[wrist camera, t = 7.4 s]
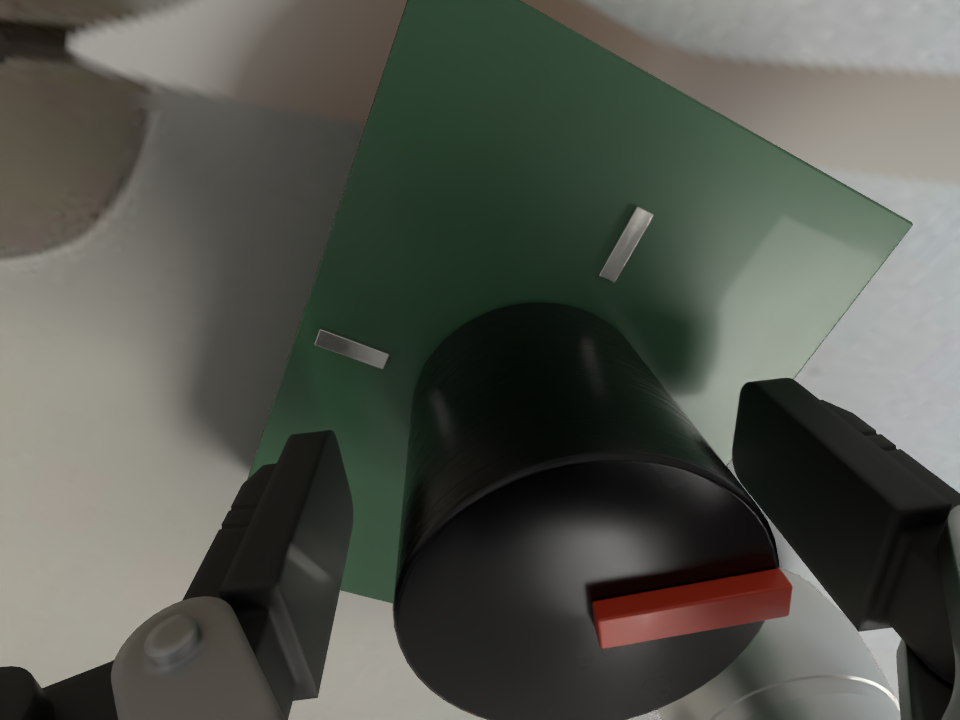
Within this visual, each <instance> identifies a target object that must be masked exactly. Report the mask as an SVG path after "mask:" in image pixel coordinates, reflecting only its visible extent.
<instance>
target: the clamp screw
mask: <svg viewBox="0 0 960 720" xmlns="http://www.w3.org/2000/svg"><path fill="white" fill-rule="evenodd" d="M792 588H793V587H792V584H791V583H790V582H789V580H788V579H787V577H786V576H785V575H784V573H783V572H782V571H781V569H779V560H778V554H777V548H776V543H775V539H774V536H773V533H772V531H771V528H770V526H769V523H768V521H767V520H766V518H765V517H764V515H763V514H762V512H761V510H760V509H759V507H758V506H757V505H756V503H755V502H754V501H753V500H752V498H751V497H750V496H749V494H748V493H747V492H746V491H745V489H744V488H743V487H742V486H741V484H740V483H739V482H738V480H737V479H736V478H735V477H734V475H733V474H732V473H731V472H730V470H729V469H728V468H727V466H726V465H725V464H724V463H723V461H722V460H721V459H720V458H719V456H718V455H717V454H716V452H715V451H714V450H713V449H712V447H711V446H710V445H709V444H708V442H707V441H706V440H705V438H704V437H703V436H702V435H701V433H700V432H699V431H698V430H697V428H696V427H695V426H694V424H693V423H692V422H691V421H690V419H689V418H688V417H687V416H686V414H685V413H684V412H683V410H682V409H681V408H680V407H679V405H678V404H677V403H676V402H675V400H674V399H673V398H672V396H671V395H670V394H669V393H668V391H667V390H666V389H665V388H664V386H663V385H662V384H661V382H660V381H659V380H658V379H657V377H656V376H655V375H654V374H653V372H652V371H651V370H650V368H649V367H648V366H647V365H646V363H645V362H644V361H643V360H642V358H641V357H640V356H639V354H638V353H637V352H636V351H635V349H634V348H633V347H632V346H631V344H630V343H629V342H628V341H627V340H626V339H625V337H624V336H623V335H622V334H621V333H620V332H619V331H618V330H616V329H615V328H614V327H613V326H611V325H610V324H609V323H608V322H606V321H604V320H603V319H601V318H599V317H598V316H596V315H594V314H592V313H589V312H587V311H584V310H582V309H579V308H575V307H572V306H568V305H564V304H556V303H548V302H530V303H522V304H514V305H510V306H506V307H502V308H498V309H495V310H493V311H490V312H487V313H485V314H482V315H480V316H478V317H476V318H474V319H473V320H471V321H469V322H467V323H465V324H464V325H463V326H461V327H460V328H458V329H457V330H455V331H454V332H453V333H452V334H450V335H449V336H448V337H447V338H446V339H445V340H444V341H443V342H442V343H441V344H440V345H439V346H438V347H437V349H436V350H435V351H434V352H433V353H432V355H431V356H430V358H429V359H428V361H427V362H426V364H425V366H424V367H423V369H422V371H421V373H420V376H419V378H418V380H417V383H416V387H415V390H414V394H413V400H412V409H411V419H410V430H409V441H408V451H407V462H406V473H405V483H404V494H403V505H402V515H401V526H400V537H399V547H398V558H397V569H396V579H395V590H394V600H393V619H394V628H395V632H396V636H397V639H398V643H399V646H400V648H401V650H402V652H403V654H404V656H405V658H406V661H407V663H408V664H409V666H410V667H411V668H412V670H413V671H414V673H415V674H416V675H417V677H418V678H419V679H420V680H421V681H422V682H423V683H424V684H425V685H426V686H427V687H428V688H429V689H430V690H432V691H433V692H434V693H435V694H437V695H438V696H439V697H441V698H442V699H443V700H445V701H447V702H448V703H450V704H452V705H454V706H456V707H457V708H459V709H461V710H463V711H466V712H468V713H470V714H473V715H475V716H478V717H481V718H484V719H487V720H627V719H630V718H633V717H637V716H640V715H643V714H646V713H649V712H651V711H654V710H657V709H659V708H662V707H664V706H667V705H669V704H671V703H673V702H675V701H677V700H679V699H681V698H683V697H685V696H687V695H689V694H690V693H692V692H694V691H695V690H697V689H699V688H701V687H702V686H704V685H705V684H706V683H708V682H709V681H711V680H712V679H713V678H715V677H716V676H718V675H719V674H720V673H721V672H723V671H724V670H725V669H726V668H727V667H728V666H730V665H731V664H732V663H733V662H734V661H735V660H736V659H737V658H738V657H739V656H740V655H741V654H742V653H743V652H744V651H745V649H746V648H747V647H748V646H749V645H750V643H751V642H752V641H753V639H754V638H755V637H756V635H757V634H758V633H759V631H760V630H761V628H762V626H763V624H764V622H765V620H769V619H775V618H780V617H786V616H788V615H789V612H790V604H791V596H792Z"/></svg>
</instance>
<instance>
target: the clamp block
mask: <svg viewBox="0 0 960 720" xmlns="http://www.w3.org/2000/svg"><path fill="white" fill-rule="evenodd" d="M912 225H913V224H912V222H910V221H909V220H907V219H905V218H903V217H901V216H900V215H898V214H896V213H894V212H893V211H891V210H889V209H887V208H886V207H884V206H882V205H880V204H879V203H877V202H875V201H873V200H871V199H870V198H868V197H866V196H864V195H863V194H861V193H859V192H857V191H856V190H854V189H852V188H850V187H849V186H847V185H845V184H843V183H841V182H840V181H838V180H836V179H834V178H833V177H831V176H829V175H827V174H826V173H824V172H822V171H820V170H819V169H817V168H815V167H813V166H811V165H810V164H808V163H806V162H804V161H803V160H801V159H799V158H797V157H796V156H794V155H792V154H790V153H789V152H787V151H785V150H783V149H781V148H780V147H778V146H776V145H774V144H772V143H771V142H769V141H767V140H765V139H764V138H762V137H760V136H758V135H757V134H755V133H753V132H751V131H750V130H748V129H746V128H744V127H743V126H741V125H739V124H737V123H735V122H734V121H732V120H730V119H728V118H727V117H725V116H723V115H721V114H720V113H718V112H716V111H714V110H713V109H711V108H709V107H707V106H706V105H704V104H702V103H700V102H699V101H697V100H695V99H693V98H691V97H689V96H688V95H686V94H684V93H682V92H681V91H679V90H677V89H676V88H673V87H672V86H670V85H669V84H667V83H665V82H663V81H661V80H660V79H658V78H656V77H654V76H653V75H651V74H649V73H647V72H645V71H644V70H642V69H640V68H638V67H637V66H635V65H633V64H631V63H630V62H628V61H626V60H624V59H623V58H621V57H619V56H617V55H616V54H614V53H612V52H610V51H609V50H607V49H605V48H603V47H601V46H600V45H598V44H596V43H594V42H592V41H591V40H589V39H587V38H585V37H584V36H582V35H580V34H579V33H577V32H575V31H573V30H571V29H569V28H568V27H566V26H564V25H563V24H561V23H559V22H557V21H555V20H554V19H552V18H550V17H548V16H547V15H545V14H543V13H541V12H540V11H538V10H536V9H534V8H533V7H531V6H529V5H527V4H525V3H524V2H522V1H520V0H407V3H406V6H405V9H404V12H403V15H402V18H401V21H400V24H399V27H398V30H397V33H396V36H395V39H394V42H393V45H392V48H391V51H390V54H389V57H388V60H387V63H386V66H385V69H384V72H383V75H382V78H381V81H380V84H379V87H378V90H377V93H376V96H375V99H374V102H373V105H372V107H371V110H370V114H369V117H368V119H367V122H366V125H365V128H364V131H363V134H362V137H361V140H360V143H359V146H358V149H357V152H356V155H355V158H354V161H353V164H352V167H351V170H350V173H349V176H348V179H347V182H346V185H345V188H344V191H343V194H342V197H341V200H340V203H339V206H338V209H337V212H336V215H335V218H334V221H333V224H332V227H331V230H330V233H329V236H328V239H327V242H326V245H325V248H324V251H323V254H322V257H321V260H320V263H319V266H318V269H317V272H316V275H315V278H314V281H313V284H312V287H311V290H310V293H309V296H308V299H307V302H306V305H305V308H304V311H303V314H302V317H301V320H300V323H299V326H298V329H297V332H296V335H295V338H294V341H293V344H292V347H291V350H290V353H289V356H288V359H287V362H286V365H285V368H284V371H283V374H282V377H281V380H280V383H279V386H278V389H277V392H276V395H275V398H274V401H273V404H272V407H271V410H270V413H269V416H268V419H267V422H266V425H265V428H264V431H263V434H262V437H261V440H260V443H259V446H258V449H257V452H256V455H255V458H254V461H253V464H252V467H251V470H250V473H249V476H248V479H249V478H250V477H251V476H252V475H253V474H254V473H255V472H256V471H257V470H258V469H260V468H261V467H262V466H263V465H267V464H275V463H277V462H278V460H279V457H280V455H281V453H282V451H283V449H284V446H285V444H286V442H287V440H288V438H289V436H290V435H292V434H301V433H309V432H318V431H326V430H332V431H333V432H334V433H335V435H336V438H337V441H338V444H339V448H340V452H341V456H342V460H343V464H344V468H345V472H346V476H347V479H348V483H349V487H350V491H351V495H352V501H353V528H352V533H351V538H350V543H349V548H348V553H347V558H346V562H345V567H344V572H343V577H342V582H341V587H340V590H342V591H346V592H350V593H354V594H358V595H362V596H366V597H370V598H374V599H378V600H382V601H386V602H390V603H393V600H394V590H395V579H396V569H397V558H398V547H399V537H400V526H401V515H402V505H403V494H404V483H405V473H406V462H407V451H408V441H409V430H410V419H411V409H412V400H413V394H414V390H415V387H416V383H417V380H418V378H419V376H420V373H421V371H422V369H423V367H424V366H425V364H426V362H427V361H428V359H429V358H430V356H431V355H432V353H433V352H434V351H435V350H436V349H437V347H438V346H439V345H440V344H441V343H442V342H443V341H444V340H445V339H446V338H447V337H448V336H449V335H450V334H452V333H453V332H454V331H455V330H457V329H458V328H460V327H461V326H463V325H464V324H465V323H467V322H469V321H471V320H473V319H474V318H476V317H478V316H480V315H482V314H485V313H487V312H490V311H493V310H495V309H498V308H502V307H506V306H510V305H514V304H522V303H530V302H548V303H556V304H564V305H568V306H572V307H575V308H579V309H582V310H584V311H587V312H589V313H592V314H594V315H596V316H598V317H599V318H601V319H603V320H604V321H606V322H608V323H609V324H610V325H611V326H613V327H614V328H615V329H616V330H618V331H619V332H620V333H621V334H622V335H623V336H624V337H625V339H626V340H627V341H628V342H629V343H630V344H631V346H632V347H633V348H634V349H635V351H636V352H637V353H638V354H639V356H640V357H641V358H642V360H643V361H644V362H645V363H646V365H647V366H648V367H649V368H650V370H651V371H652V372H653V374H654V375H655V376H656V377H657V379H658V380H659V381H660V382H661V384H662V385H663V386H664V388H665V389H666V390H667V391H668V393H669V394H670V395H671V396H672V398H673V399H674V400H675V402H676V403H677V404H678V405H679V407H680V408H681V409H682V410H683V412H684V413H685V414H686V416H687V417H688V418H689V419H690V421H691V422H692V423H693V424H694V426H695V427H696V428H697V430H698V431H699V432H700V433H701V435H702V436H703V437H704V438H705V440H706V441H707V442H708V444H709V445H710V446H711V447H712V449H713V450H714V451H715V452H716V454H717V455H718V456H719V458H720V459H721V460H722V461H723V463H724V464H725V465H726V466H727V465H728V464H729V462H730V461H731V460H732V446H733V439H734V432H735V425H736V417H737V410H738V403H739V396H740V391H741V389H742V387H743V385H744V384H745V383H747V382H753V381H762V380H770V379H779V378H791V379H794V378H795V377H796V375H797V374H798V373H799V372H800V370H801V369H802V368H803V366H804V365H805V364H806V363H807V361H808V360H809V359H810V357H811V356H812V355H813V353H814V352H815V351H816V350H817V348H818V347H819V346H820V344H821V343H822V342H823V341H824V339H825V338H826V337H827V335H828V334H829V333H830V331H831V330H832V329H833V328H834V326H835V325H836V324H837V322H838V321H839V320H840V319H841V317H842V316H843V315H844V313H845V312H846V311H847V309H848V308H849V307H850V306H851V304H852V303H853V302H854V300H855V299H856V298H857V297H858V295H859V294H860V293H861V291H862V290H863V289H864V287H865V286H866V285H867V284H868V282H869V281H870V280H871V278H872V277H873V276H874V275H875V273H876V272H877V271H878V269H879V268H880V267H881V265H882V264H883V263H884V262H885V260H886V259H887V258H888V256H889V255H890V254H891V253H892V251H893V250H894V249H895V247H896V246H897V245H898V243H899V242H900V241H901V240H902V238H903V237H904V236H905V234H906V233H907V232H908V231H909V229H910V228H911V227H912ZM248 479H247V480H248Z"/></svg>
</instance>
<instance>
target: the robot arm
mask: <svg viewBox="0 0 960 720" xmlns="http://www.w3.org/2000/svg"><path fill="white" fill-rule="evenodd" d="M732 460H733V465H734V469H735V472H736V475H737V477H738V479H739V481H740V482H741V483H742V485H743V486H744V487H745V489H746V490H747V491H748V492H749V494H750V495H751V496H752V497H753V499H754V500H755V501H756V503H757V504H758V505H759V506H760V508H761V509H762V510H763V511H764V513H765V514H766V515H767V516H768V518H769V519H770V520H771V522H772V523H773V524H774V525H775V527H776V528H777V529H778V530H779V532H780V533H781V534H782V535H783V537H784V538H785V539H786V540H787V542H788V543H789V544H790V546H791V547H792V548H793V549H794V551H795V552H796V553H797V554H798V556H799V557H800V558H801V559H802V561H803V562H804V563H805V565H806V566H807V567H808V568H809V570H810V571H811V572H812V573H813V575H814V576H815V577H816V578H817V580H818V581H819V582H820V583H821V585H822V586H823V587H824V589H825V590H826V591H827V592H828V594H829V595H830V596H831V597H832V599H833V600H834V601H835V602H836V604H837V605H838V606H839V608H840V609H841V610H842V611H843V613H844V614H845V615H846V616H847V618H848V619H849V620H850V621H851V623H852V624H853V625H854V626H855V628H856V629H857V630H858V632H859V631H867V630H875V629H883V628H891V627H893V629H894V630H895V631H896V632H897V633H898V634H899V636H900V637H901V638H902V639H901V641H900V644H899V647H898V649H897V656H896V658H897V673H898V687H899V702H900V717H901V720H960V494H959V493H958V492H957V491H955V490H954V489H953V488H952V487H950V486H949V485H948V484H946V483H945V482H944V481H942V480H941V479H940V478H938V477H937V476H936V475H934V474H933V473H932V472H930V471H929V470H928V469H926V468H925V467H924V466H922V465H921V464H920V463H918V462H917V461H916V460H914V459H913V458H912V457H910V456H909V455H908V454H906V453H905V452H904V451H902V450H901V449H899V450H897V449H896V445H894V444H893V443H892V442H890V441H889V440H888V439H886V438H885V437H884V436H882V435H881V434H879V435H877V433H876V430H874V429H873V428H872V427H871V426H869V425H868V424H867V423H865V422H864V421H863V420H861V419H860V418H859V417H857V416H856V415H855V414H853V413H851V412H849V411H847V410H844V409H842V408H840V407H837V406H835V405H833V404H831V403H828V402H826V401H824V400H819V399H818V398H816V397H815V396H814V395H813V394H811V393H810V392H809V391H808V390H806V389H805V388H804V387H802V386H801V385H800V384H799V383H797V382H796V381H795V380H793V379H791V378H779V379H770V380H762V381H753V382H747V383H745V384H744V385H743V387H742V389H741V391H740V396H739V403H738V410H737V417H736V425H735V432H734V439H733V446H732ZM352 528H353V501H352V495H351V491H350V487H349V483H348V479H347V476H346V472H345V468H344V464H343V460H342V456H341V452H340V448H339V444H338V441H337V438H336V435H335V433H334V432H333V431H332V430H326V431H318V432H309V433H301V434H292V435H290V436H289V438H288V440H287V442H286V444H285V446H284V449H283V451H282V453H281V455H280V457H279V460H278V462H277V463H275V464H267V465H263V466H262V467H261V468H260V469H258V470H257V471H256V472H255V473H254V474H253V475H252V476H251V477H250V478H249V479H248V480H247V481H246V482H245V483H244V484H243V485H242V486H241V488H240V490H239V492H238V494H237V496H236V498H235V500H234V502H233V504H232V506H231V511H229V512H228V513H227V515H226V517H225V519H224V521H223V523H222V529H221V530H219V531H218V533H217V535H216V537H215V539H214V541H213V542H212V544H211V546H210V548H209V550H208V552H207V554H206V556H205V558H204V560H203V562H202V564H201V566H200V568H199V569H198V571H197V573H196V575H195V577H194V579H193V581H192V583H191V585H190V587H189V589H188V591H187V593H186V595H185V597H184V598H183V600H182V601H180V602H178V603H175V604H173V605H171V606H169V607H167V608H165V609H163V610H161V611H160V612H158V613H156V614H155V615H153V616H152V617H151V618H149V619H148V620H147V621H145V622H144V623H143V624H142V625H141V626H140V627H138V628H137V629H136V630H135V631H134V632H133V633H132V634H131V636H130V637H129V638H128V639H127V640H126V642H125V643H124V644H123V646H122V647H121V649H120V650H119V652H118V654H117V656H116V658H115V660H113V661H111V662H109V663H107V664H104V665H101V666H99V667H96V668H94V669H91V670H88V671H86V672H83V673H81V674H78V675H76V676H73V677H70V678H68V679H65V680H63V681H60V682H58V683H55V684H52V685H50V686H47V687H45V688H41V687H40V685H39V684H38V683H37V681H36V680H35V679H34V677H33V676H32V674H31V673H29V672H28V671H27V670H26V669H23V668H21V667H13V666H9V667H0V720H288V717H289V713H290V709H291V705H292V701H295V700H303V699H311V698H318V693H319V689H320V684H321V679H322V674H323V669H324V664H325V660H326V655H327V650H328V645H329V640H330V635H331V630H332V626H333V621H334V616H335V611H336V606H337V601H338V596H339V592H340V587H341V582H342V577H343V572H344V567H345V562H346V558H347V553H348V548H349V543H350V538H351V533H352Z"/></svg>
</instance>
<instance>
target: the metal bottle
mask: <svg viewBox="0 0 960 720" xmlns="http://www.w3.org/2000/svg"><path fill="white" fill-rule="evenodd" d="M779 569H781V571H782V572H783V573H784V575H785V576H786V577H787V579H788V580H789V582H790V583H791V584H792V587H793V588H792V596H791V604H790V612H789V615H788V616H786V617H780V618H775V619H769V620H765V622H764V624H763V626H762V628H761V630H760V631H759V633H758V634H757V635H756V637H755V638H754V639H753V641H752V642H751V643H750V645H749V646H748V647H747V648H746V649H745V651H744V652H743V653H742V654H741V655H740V656H739V657H738V658H737V659H736V660H735V661H734V662H733V663H732V664H731V665H730V666H728V667H727V668H726V669H725V670H724V671H723V672H721V673H720V674H719V675H718V676H716V677H715V678H713V679H712V680H711V681H709V682H708V683H706V684H705V685H704V686H702V687H701V688H699V689H697V690H695V691H694V692H692V693H690V694H689V695H687V696H685V697H683V698H681V699H679V700H677V701H675V702H673V703H671V704H669V705H667V706H664V707H662V708H659V709H657V710H658V712H659V714H660V716H661V718H662V720H901V717H900V706H899V704H898V701H897V699H896V697H895V695H894V693H893V691H892V689H891V687H890V685H889V683H888V681H887V680H886V678H885V676H884V674H883V672H882V670H881V668H880V667H879V665H878V664H877V662H876V660H875V659H874V657H873V656H872V654H871V652H870V651H869V649H868V648H867V646H866V644H865V643H864V641H863V639H862V638H861V636H860V635H859V633H858V631H857V630H856V628H855V627H854V625H853V624H852V623H851V622H850V621H849V620H848V618H847V617H846V616H845V615H844V614H843V613H842V612H841V611H840V610H839V609H838V608H837V607H836V606H834V605H833V604H832V603H831V602H830V601H829V600H828V599H827V598H826V597H825V596H824V595H823V594H822V593H821V592H820V591H819V590H818V589H817V588H816V587H814V586H813V585H812V584H811V583H810V582H808V581H807V580H805V579H804V578H802V577H801V576H799V575H797V574H795V573H792V572H789V571H787V570H784V569H782V568H779Z"/></svg>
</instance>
